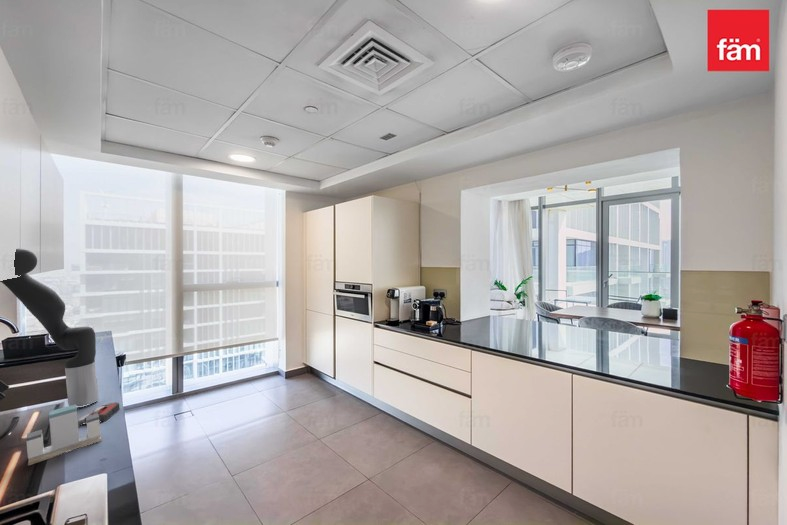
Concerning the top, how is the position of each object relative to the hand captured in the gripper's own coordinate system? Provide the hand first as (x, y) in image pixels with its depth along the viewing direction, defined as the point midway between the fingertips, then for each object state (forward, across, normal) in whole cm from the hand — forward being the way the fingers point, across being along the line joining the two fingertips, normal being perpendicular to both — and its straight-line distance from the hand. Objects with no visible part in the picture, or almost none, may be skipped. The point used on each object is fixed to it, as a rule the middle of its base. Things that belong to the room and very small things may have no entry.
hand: (3, 394), depth 98 cm
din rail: (+23, -8, 0) cm, 24 cm away
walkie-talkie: (+29, +12, -5) cm, 32 cm away
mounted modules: (+22, -7, -1) cm, 23 cm away
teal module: (+22, -8, -1) cm, 23 cm away
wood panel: (+23, -8, 0) cm, 24 cm away
